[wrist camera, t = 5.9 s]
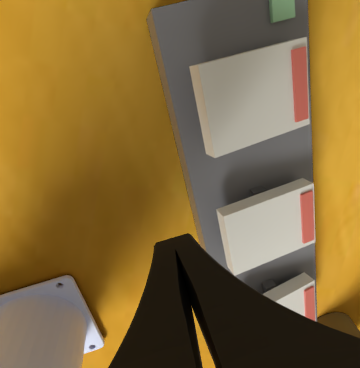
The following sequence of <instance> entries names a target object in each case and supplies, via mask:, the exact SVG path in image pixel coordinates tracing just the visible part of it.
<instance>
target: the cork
mask: <svg viewBox="0 0 360 368" xmlns="http://www.w3.org/2000/svg"><path fill="white" fill-rule="evenodd" d="M317 322H318V323H321V324H323V325H325V326H328V327H330V328H333V329H336V330H339V331H342V332H344V333H347V334H350V335H353V336H355V337H358V338H360V331H359V330H358V328H357V327H356V325H355V324H354V323H353V321H352V320H351V318H350V317H349V316H348V315H346V314H344V313H340V312H333V313H328V314H325V315H323V316H321V317H319V318H317Z"/></svg>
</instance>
